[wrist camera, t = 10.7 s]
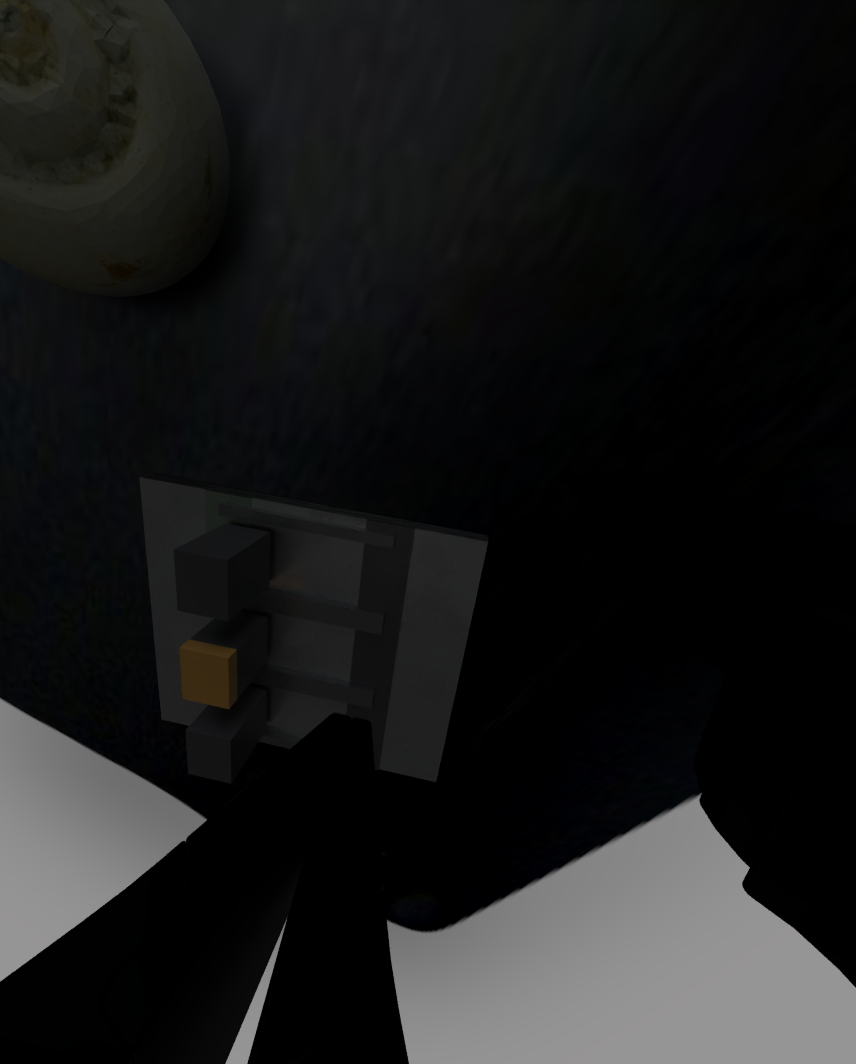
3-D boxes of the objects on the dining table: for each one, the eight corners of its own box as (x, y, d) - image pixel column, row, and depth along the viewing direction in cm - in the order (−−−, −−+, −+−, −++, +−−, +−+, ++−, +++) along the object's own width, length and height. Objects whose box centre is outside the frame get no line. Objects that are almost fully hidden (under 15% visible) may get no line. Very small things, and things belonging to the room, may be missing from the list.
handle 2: (267, 690, 24) (230, 740, 20) (266, 729, 25) (231, 783, 21) (228, 681, 24) (185, 730, 20) (229, 720, 25) (188, 773, 22)
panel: (487, 535, 20) (488, 544, 19) (437, 767, 26) (435, 788, 25) (154, 473, 22) (133, 478, 20) (172, 708, 27) (156, 724, 26)
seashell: (126, -165, 9) (11, 289, 11) (296, 131, 17) (210, 362, 19) (-330, -384, 9) (-356, 84, 12) (39, -1, 17) (-17, 237, 19)
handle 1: (270, 532, 20) (227, 560, 17) (269, 584, 21) (228, 621, 18) (225, 523, 21) (173, 549, 17) (226, 576, 22) (177, 610, 18)
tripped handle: (267, 616, 22) (228, 658, 19) (267, 662, 23) (229, 709, 20) (226, 608, 22) (179, 647, 19) (227, 653, 23) (182, 698, 20)
